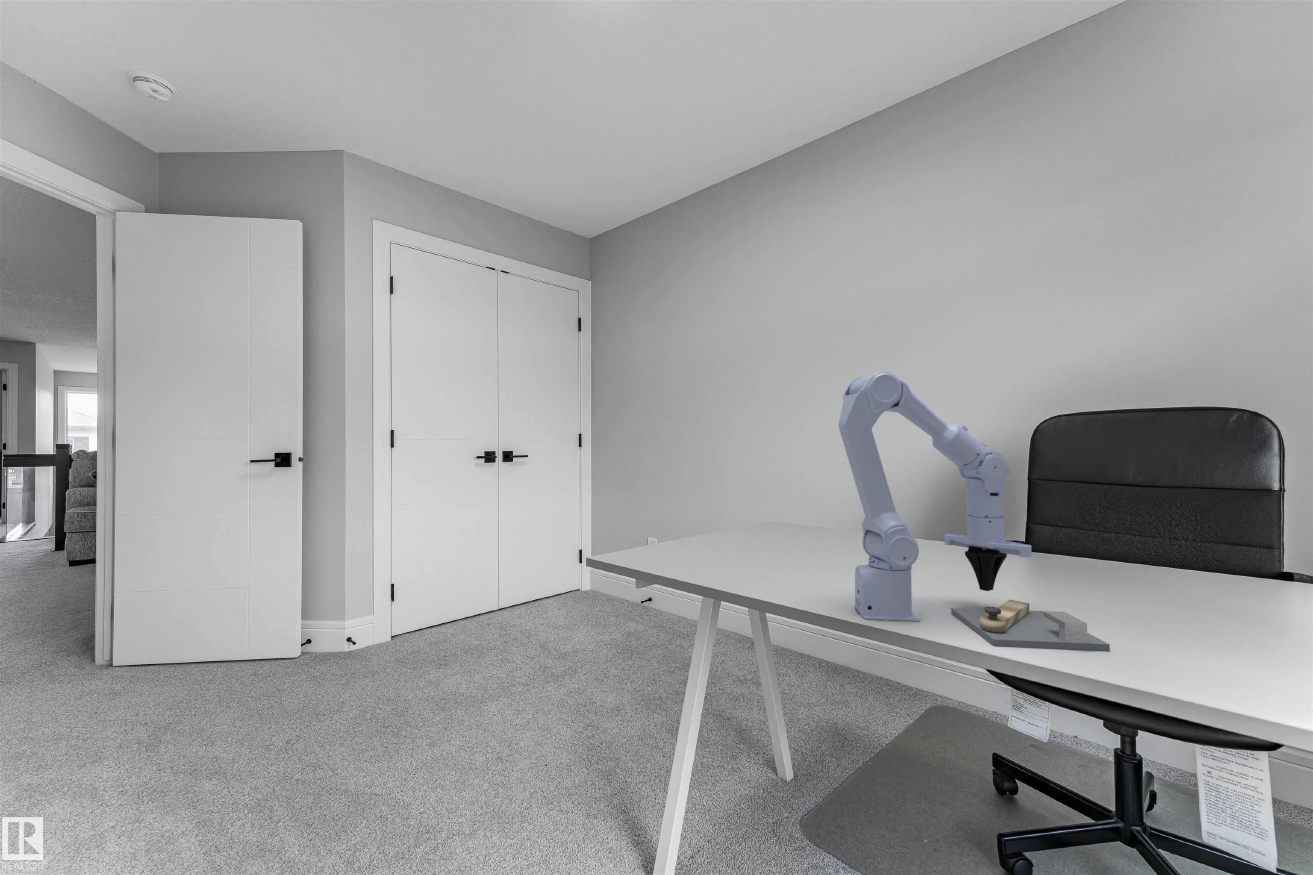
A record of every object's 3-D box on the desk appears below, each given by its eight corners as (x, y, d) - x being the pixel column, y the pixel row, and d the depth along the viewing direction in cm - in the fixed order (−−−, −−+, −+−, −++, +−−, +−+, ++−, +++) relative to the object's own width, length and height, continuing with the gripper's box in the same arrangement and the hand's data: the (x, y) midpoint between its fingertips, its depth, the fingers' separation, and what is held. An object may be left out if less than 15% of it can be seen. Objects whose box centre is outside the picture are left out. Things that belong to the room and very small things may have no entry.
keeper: (1065, 642, 80) (1064, 622, 80) (1044, 629, 85) (1043, 611, 85) (1087, 643, 79) (1086, 623, 79) (1064, 630, 85) (1064, 611, 85)
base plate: (993, 645, 81) (993, 639, 81) (951, 613, 97) (951, 607, 97) (1109, 650, 79) (1109, 644, 79) (1046, 616, 95) (1046, 611, 95)
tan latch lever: (1002, 634, 83) (1002, 613, 83) (976, 628, 85) (976, 608, 86) (1031, 611, 94) (1031, 593, 94) (1007, 607, 96) (1007, 589, 96)
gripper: (1039, 518, 94) (1041, 595, 94) (958, 510, 107) (960, 578, 106) (1018, 521, 91) (1020, 601, 90) (937, 513, 103) (938, 583, 103)
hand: (986, 589), depth 98 cm, fingers closed
